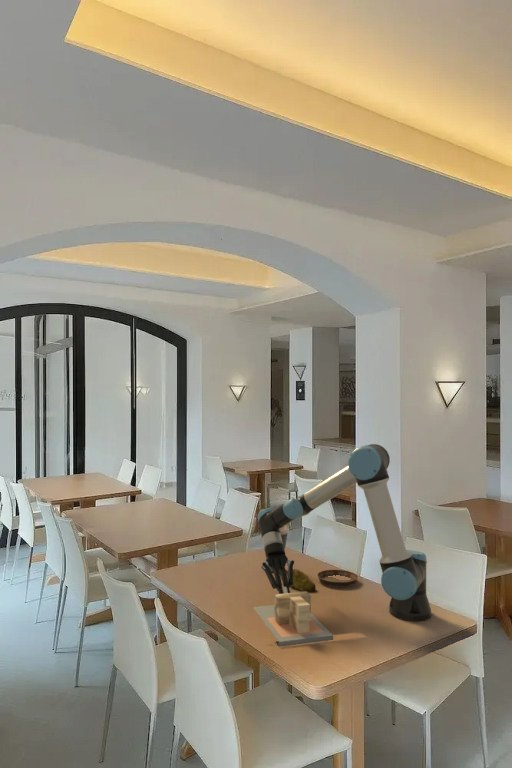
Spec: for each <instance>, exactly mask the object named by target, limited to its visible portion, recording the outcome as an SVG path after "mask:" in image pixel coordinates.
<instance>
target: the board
mask: <svg viewBox="0 0 512 768" xmlns="http://www.w3.org/2000/svg"><path fill="white" fill-rule="evenodd" d="M252 609H253V610H254V611H255V612H256V613H257V615H258V616H259V618H260V620H262V622H263V623H264V624H265V626H266V627H267V628H268V629H269V631H270V632H271V634H272V635H273V636H274V638H276V641H275V644H277V646H278V647H286V646H287V647H288V646H295V645H303V644H312V643H320V642H327V641H333V640H334V634H332V632H331V631H330V630H328V628H326V627H325V625H324V624H323V623H321V622H320V620H318V619H317V617H315V616H314V615H313V614H312V613H311V621H310V625H309V632H304V633H298V632H297V631H296V630H295V629H294V628H293V627H292V626H291V625H290V624H283V625H278V624H277V623H276V621H275V604H269V605H260V606H252Z"/></svg>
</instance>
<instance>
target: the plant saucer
mask: <svg viewBox="0 0 512 768" xmlns="http://www.w3.org/2000/svg"><path fill="white" fill-rule="evenodd" d="M333 575H335V576H336V575H340V576H345V577H348V578H351V579H350V580H339V579H336V578H333V577H328V576H333ZM316 576H317V578H318V580H319V581H320V582H321V583H322V584H324V585H325V586H329V587H333V588H334V587H335V588H347V587H349V586H350V587H351V586H352V585H354V584H355V583H356V582H357V580H358V578H359V576H358V574H357V573H354V572H352V571H349V570H343V569H326V570H321V571H319V572H318V573H317V574H316Z"/></svg>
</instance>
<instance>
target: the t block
mask: <svg viewBox="0 0 512 768" xmlns="http://www.w3.org/2000/svg"><path fill="white" fill-rule="evenodd" d="M311 603H312V595H311V594H310V593H309V592H307V591H298V592H290V593H285V594H279V593H278V594H277V593H276V594H274V605H275V621H276V623H277V624H278V625H283V624H290V625H291V626H292V627H293V628H294V629H295V630H296V631H297V632H298V633H304V632H309V625H310V621H311V614H312V611H311V606H312V604H311Z"/></svg>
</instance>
